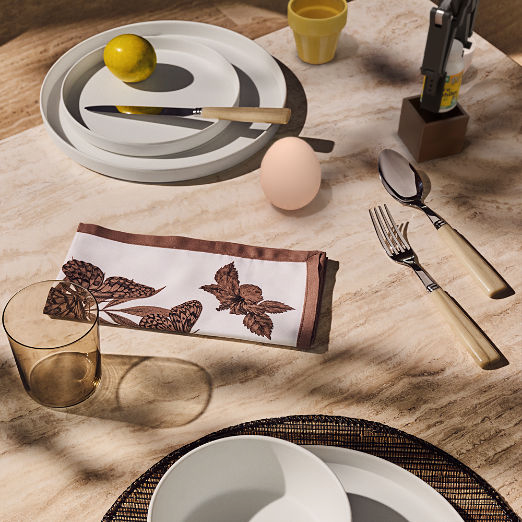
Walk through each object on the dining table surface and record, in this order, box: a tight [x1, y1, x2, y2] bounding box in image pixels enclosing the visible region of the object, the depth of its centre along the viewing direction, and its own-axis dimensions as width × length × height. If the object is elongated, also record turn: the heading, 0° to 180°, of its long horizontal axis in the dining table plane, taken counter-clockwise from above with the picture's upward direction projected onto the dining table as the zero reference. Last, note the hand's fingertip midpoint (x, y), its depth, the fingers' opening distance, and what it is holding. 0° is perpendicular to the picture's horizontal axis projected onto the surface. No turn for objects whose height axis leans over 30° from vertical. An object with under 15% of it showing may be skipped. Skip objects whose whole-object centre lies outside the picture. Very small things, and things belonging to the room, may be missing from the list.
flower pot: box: [287, 0, 349, 65], centre depth 121 cm, size 10×10×10 cm
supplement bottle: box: [420, 39, 465, 112], centre depth 98 cm, size 5×5×10 cm
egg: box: [259, 136, 322, 211], centre depth 96 cm, size 9×9×12 cm
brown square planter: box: [397, 93, 471, 164], centre depth 105 cm, size 7×7×7 cm
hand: (438, 97), depth 101 cm, fingers open, 6 cm apart
